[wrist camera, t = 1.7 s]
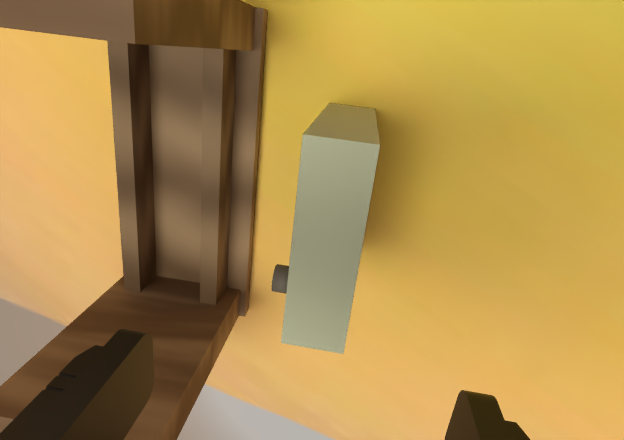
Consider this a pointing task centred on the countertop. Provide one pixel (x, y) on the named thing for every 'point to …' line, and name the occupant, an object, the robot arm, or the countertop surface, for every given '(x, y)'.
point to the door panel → (328, 226)
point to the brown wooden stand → (166, 188)
